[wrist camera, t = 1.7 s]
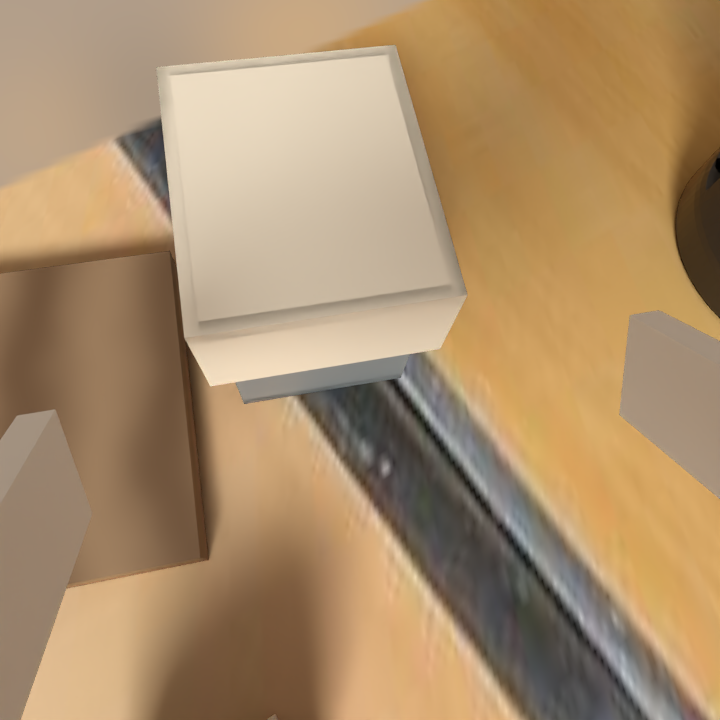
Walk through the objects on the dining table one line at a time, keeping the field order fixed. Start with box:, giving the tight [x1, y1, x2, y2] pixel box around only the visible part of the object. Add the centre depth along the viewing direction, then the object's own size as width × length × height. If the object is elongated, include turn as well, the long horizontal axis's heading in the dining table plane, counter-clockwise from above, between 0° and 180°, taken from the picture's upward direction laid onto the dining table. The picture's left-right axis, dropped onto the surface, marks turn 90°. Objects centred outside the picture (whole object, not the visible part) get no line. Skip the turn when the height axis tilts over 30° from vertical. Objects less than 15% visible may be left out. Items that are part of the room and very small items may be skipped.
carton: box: [235, 354, 410, 404], centre depth 27 cm, size 8×10×10 cm
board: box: [0, 251, 208, 588], centre depth 28 cm, size 13×15×2 cm
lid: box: [156, 45, 467, 386], centre depth 24 cm, size 10×12×5 cm
